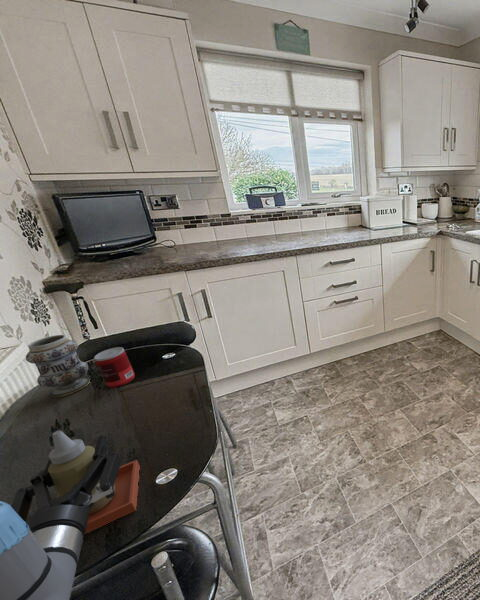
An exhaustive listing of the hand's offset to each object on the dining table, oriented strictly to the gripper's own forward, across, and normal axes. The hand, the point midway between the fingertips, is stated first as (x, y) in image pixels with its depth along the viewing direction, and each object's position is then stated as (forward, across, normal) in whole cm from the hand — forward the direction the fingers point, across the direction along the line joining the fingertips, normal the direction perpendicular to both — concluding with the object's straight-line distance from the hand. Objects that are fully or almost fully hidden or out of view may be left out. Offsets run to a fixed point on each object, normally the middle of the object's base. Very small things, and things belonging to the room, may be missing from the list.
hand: (81, 449), depth 66 cm
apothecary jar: (+59, -15, -11) cm, 62 cm away
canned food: (+52, -1, -11) cm, 53 cm away
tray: (-5, 0, -11) cm, 12 cm away
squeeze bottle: (-5, 0, -10) cm, 11 cm away
